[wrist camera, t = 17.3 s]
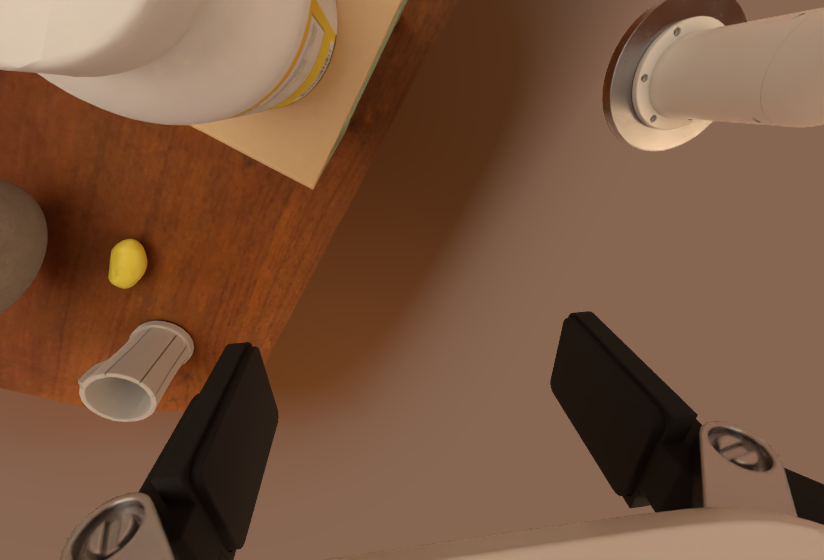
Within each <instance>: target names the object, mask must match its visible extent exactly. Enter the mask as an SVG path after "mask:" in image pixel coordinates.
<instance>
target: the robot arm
mask: <svg viewBox="0 0 824 560" xmlns="http://www.w3.org/2000/svg"><path fill="white" fill-rule="evenodd" d="M632 102H633V106H634V110H635V112H636V114H637V116H638V118H639V119H640V120H641V121H642V122H643V123H644V124H646V125H647V126H649V127H651V128H654V129H660V130H673V129H677V128H681V127H683V126H685V125H687V124H690V123H691V122H693V121H694V120H710V121H723V122H736V123H750V124H762V125H775V126H787V127H811V126H819V125H823V124H824V8H818V9H813V10H808V11H803V12H797V13H792V14H787V15H781V16H776V17H771V18H766V19H760V20H755V21H750V22H744V23H739V24H734V25H729V26H725V25H724V24H723V23H721V22H720V21H719V20H717V19H715V18H713V17H708V16H697V17H691V18H688V19H684V20H681V21H679V22H677V23H675V24H673V25H672V26H670V27H669V28H667V29H666V30H664V31H663V32H662V33H661V34H660V35H659V36H658V37H657V38H656V39H655V40H654V41H653V42H652V44H651V45H650V46H649V48H648V49H647V50H646V52H645V54H644V55H643V57H642V59H641V61H640V63H639V65H638V68H637V70H636V73H635V77H634V80H633V87H632ZM550 383H551V389H552V392H553V393H554V395H555V397H556V398H557V400H558V401H559V403H560V405H561V406H562V408H563V410H564V411H565V412H566V414H567V416H568V418H569V419H570V421H571V423H572V424H573V426H574V427H575V429H576V431H577V432H578V434H579V435H580V437H581V439H582V440H583V442H584V443H585V445H586V447H587V448H588V450H589V452H590V453H591V455H592V456H593V458H594V460H595V461H596V463H597V464H598V466H599V468H600V469H601V471H602V472H603V474H604V476H605V477H606V479H607V481H608V482H609V484H610V485H611V487H612V489H613V490H614V491H615V493H616V494H618V495H619V496H623V498H624V499H625V501H626V503H627V504H628V506H629V508H636V507H643V506H649V505H651V506H652V508H653V509H654V511H655V512H656V513H648V514H639V515H631V516H624V517H616V518H609V519H601V520H595V521H587V522H580V523H573V524H565V525H558V526H551V527H544V528H537V529H530V530H523V531H516V532H509V533H502V534H495V535H488V536H481V537H475V538H468V539H461V540H454V541H447V542H440V543H433V544H426V545H420V546H412V547H406V548H399V549H392V550H386V551H379V552H372V553H366V554H359V555H352V556H346V557H339V558H332V559H326V560H824V485H823V484H821V483H819V482H816V481H814V480H812V479H809V478H807V477H805V476H802V475H800V474H797V473H795V472H792V471H790V470H788V469H786V468H784V466H783V463H782V461H781V459H780V457H779V455H778V454H777V453H776V452H775V451H774V450H773V448H772V447H771V446H770V445H769V444H767V443H766V442H765V441H764V440H762V439H761V438H760V437H758V436H757V435H755V434H753V433H751V432H750V431H748V430H746V429H744V428H742V427H739V426H737V425H734V424H730V423H727V422H721V421H711V422H706V423H705V424H703V425H701V424H700V423H699V422H698V421H697V420H696V417H697V414H696V413H695V412H694V411H693V410H692V409H691V408H690V407H689V406H688V405H687V404H686V403H685V402H684V401H683V400H682V399H681V398H680V397H679V396H678V395H677V394H676V393H675V392H674V391H673V390H672V389H671V388H670V387H669V386H668V385H667V384H666V383H665V382H663V381H662V380H661V379H660V378H659V377H658V376H657V375H656V374H655V373H654V372H653V371H652V370H651V369H650V368H649V367H648V366H647V365H646V364H645V363H644V362H643V361H642V360H641V359H640V358H639V357H638V356H637V355H636V354H635V353H634V352H633V351H632V350H631V349H630V348H629V347H627V345H625V344H624V343H623V342H622V341H621V340H620V339H619V338H618V337H617V336H616V335H615V334H614V333H613V332H612V331H611V330H610V329H609V328H608V327H607V326H606V325H605V324H604V323H603V322H602V321H601V320H600V319H599V318H598V317H597V316H596V315H595V314H594V313H592V312H578V313H571V314H570V315H569V317H568V318H566V319H565V320H564V322H563V327H562V331H561V336H560V340H559V345H558V349H557V354H556V358H555V363H554V367H553V372H552V376H551V382H550ZM277 423H278V410H277V406H276V403H275V400H274V396H273V393H272V390H271V387H270V384H269V380H268V377H267V374H266V370H265V367H264V364H263V361H262V357H261V354H260V351H259V348H258V347H253V346H252V344H251V343H249V342H246V343H235V344H228V345H227V346H226V347H225V349H224V351H223V353H222V354H221V356H220V358H219V360H218V362H217V363H216V365H215V367H214V369H213V370H212V372H211V374H210V376H209V378H208V379H207V381H206V383H205V385H204V386H203V388H202V390H201V392H200V394H197V395H196V396H194V398H193V399H192V400H191V402H190V404H189V405H188V407H187V409H186V411H185V412H184V414H183V416H182V418H181V419H180V421H179V423H178V424H177V426H176V428H175V430H174V432H173V433H172V435H171V437H170V439H169V440H168V442H167V444H166V445H165V447H164V449H163V451H162V452H161V454H160V456H159V457H158V459H157V461H156V463H155V465H154V466H153V468H152V470H151V471H150V473H149V475H148V477H147V478H146V480H145V482H144V484H143V485H142V487H141V489H140V491H139V492H136V493H127V494H124V495H120V496H117V497H115V498H113V499H111V500H109V501H107V502H105V503H103V504H102V505H100V506H99V507H98V508H96V509H95V510H94V511H92V512H91V513H89V514H88V515H87V516H86V517H85V518H84V519H83V520H82V521H81V522H80V523H79V524H78V525H77V526H76V528H75V529H74V530H73V532H72V533H71V534H70V536H69V537H68V538H67V541H66V543H65V545H64V547H63V549H62V551H61V558H60V560H233V559H234V556H235V552H236V549H241V548H242V547H243V545H244V542H245V540H246V536H247V532H248V529H249V525H250V522H251V518H252V514H253V511H254V507H255V503H256V500H257V496H258V493H259V489H260V485H261V482H262V478H263V474H264V471H265V467H266V463H267V459H268V456H269V452H270V449H271V445H272V442H273V438H274V434H275V431H276V427H277Z"/></svg>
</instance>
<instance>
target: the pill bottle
mask: <svg viewBox="0 0 824 560" xmlns="http://www.w3.org/2000/svg"><path fill="white" fill-rule="evenodd" d="M336 37H337V8H336V1H335V0H0V69H1V70H9V71H22V72H34V73H38V74H39V75H41V76H42V77H44V78H45V79H46V80H48V81H49V82H51V83H53V84H54V85H56V86H58V87H59V88H61V89H63V90H65V91H66V92H68V93H70V94H72V95H74V96H76V97H77V98H79V99H81V100H84V101H86V102H88V103H90V104H92V105H95V106H97V107H99V108H101V109H104V110H107V111H109V112H112V113H115V114H118V115H121V116H124V117H128V118H131V119H135V120H140V121H145V122H151V123H157V124H166V125H193V124H203V123H210V122H215V121H220V120H225V119H230V118H236V117H240V116H245V115H250V114H254V113H259V112H263V111H267V110H272V109H278V108H281V107H285V106H288V105H290V104H293V103H295V102H297V101H298V100H300V99H302V98H303V97H305V96H306V95H307V94H308V93H310V92H311V91H312V90H313V89H314V88H315V87H316V86H317V84H318V83H319V82H320V81H321V79H322V78H323V76H324V74H325V73H326V71H327V69H328V67H329V65H330V62H331V59H332V56H333V53H334V49H335V44H336Z"/></svg>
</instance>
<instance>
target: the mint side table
mask: <svg viewBox="0 0 824 560" xmlns="http://www.w3.org/2000/svg"><path fill="white" fill-rule="evenodd" d="M335 1H336V8H337V37H336V44H335V49H334V53H333V56H332V59H331V62H330V65H329V67H328V69H327V71H326V73H325V74H324V76H323V78H322V79H321V81H320V82H319V83H318V84H317V86H316V87H315V88H314V89H313V90H312V91H311V92H310V93H308V94H307V95H306V96H305V97H303V98H302V99H300V100H298V101H297V102H295V103H293V104H290V105H288V106H285V107H281V108H278V109H272V110H267V111H263V112H259V113H254V114H250V115H245V116H240V117H236V118H230V119H225V120H220V121H215V122H210V123H203V124H193V125H190V126H192V127H194V128H196V129H198V130H200V131H201V132H203V133H205V134H207V135H209V136H211V137H213V138H215V139H217V140H219V141H221V142H222V143H224V144H226V145H228V146H230V147H232V148H234V149H236V150H238V151H240V152H242V153H243V154H245V155H247V156H249V157H251V158H253V159H255V160H257V161H259V162H261V163H263V164H265V165H266V166H268V167H270V168H272V169H274V170H276V171H278V172H280V173H282V174H284V175H286V176H287V177H289V178H291V179H293V180H295V181H297V182H299V183H301V184H303V185H305V186H307V187H308V188H310V189H314V187H315V185H316V183H317V182H318V180H319V178H320V176H321V174H322V173H323V171H324V169H325V167H326V166H327V164H328V162H329V160H330V158H331V157H332V155H333V153H334V151H335V149H336V148H337V146H338V144H339V142H340V141H341V139H342V137H343V135H344V133H345V132H346V130H347V128H348V126H349V124H350V119H351V117H352V115H353V113H354V111H355V108H356V106H357V104H358V102H359V100H360V98H361V96H362V94H363V92H364V89H365V87H366V85H367V83H368V81H369V79H370V77H371V75H372V73H373V71H374V68H375V66H376V64H377V62H378V60H379V58H380V56H381V54H382V52H383V50H384V47H385V45H386V43H387V41H388V39H389V37H390V35H391V33H392V31H393V28H394V26H395V25H397V23H398V21H399V19H400V17H401V14H402V12H403V10H404V8H405V5H406V3H407V1H408V0H335Z"/></svg>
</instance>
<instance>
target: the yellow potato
mask: <svg viewBox="0 0 824 560" xmlns="http://www.w3.org/2000/svg"><path fill="white" fill-rule="evenodd" d="M147 262H148V261H147V256H146V253H145V250H144V248H143V246H142V245H141V244H140V243H139V242H138V241H137V240H134V239H126V240H123V241H121V242H119V243H118V244H117V245H115V247H114V248H113V249H112V251H111V256H110V268H109V281H110V282H111V283H112V284H113V285H115V286H117V287H120V288H124V289H125V288H130V287H132V286H134V285H135V284H136V283H137V282H138V281H139V280H140V279H141V277H142V276H143V275H144V273H145V270H146V267H147Z"/></svg>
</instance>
